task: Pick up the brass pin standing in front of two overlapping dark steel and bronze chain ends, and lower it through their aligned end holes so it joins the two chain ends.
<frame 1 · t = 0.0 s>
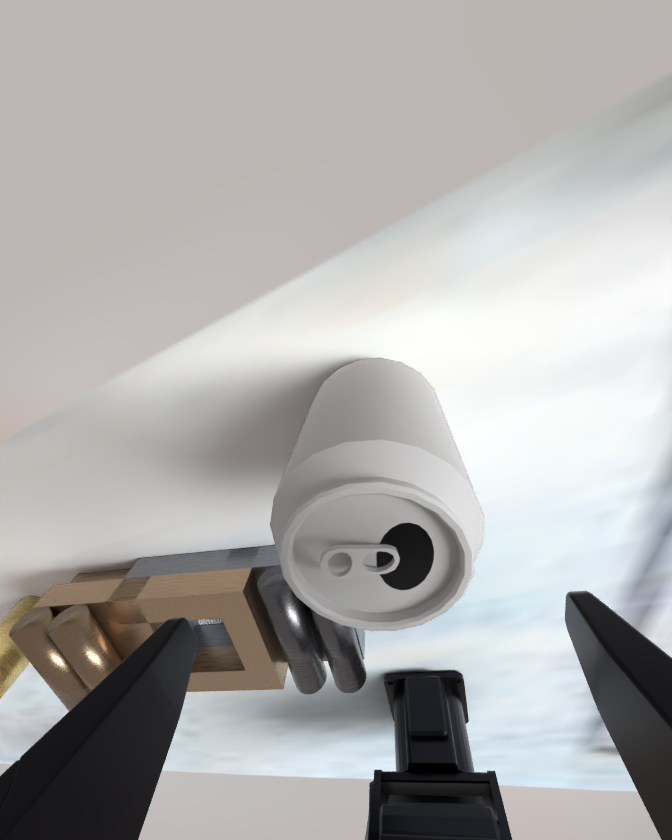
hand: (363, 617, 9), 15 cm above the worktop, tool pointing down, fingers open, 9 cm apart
chain end 1: (219, 599, 31), on the worktop
brass pin: (41, 612, 34), on the worktop
can: (375, 413, 23), on the worktop
chain end 2: (219, 599, 31), on the worktop
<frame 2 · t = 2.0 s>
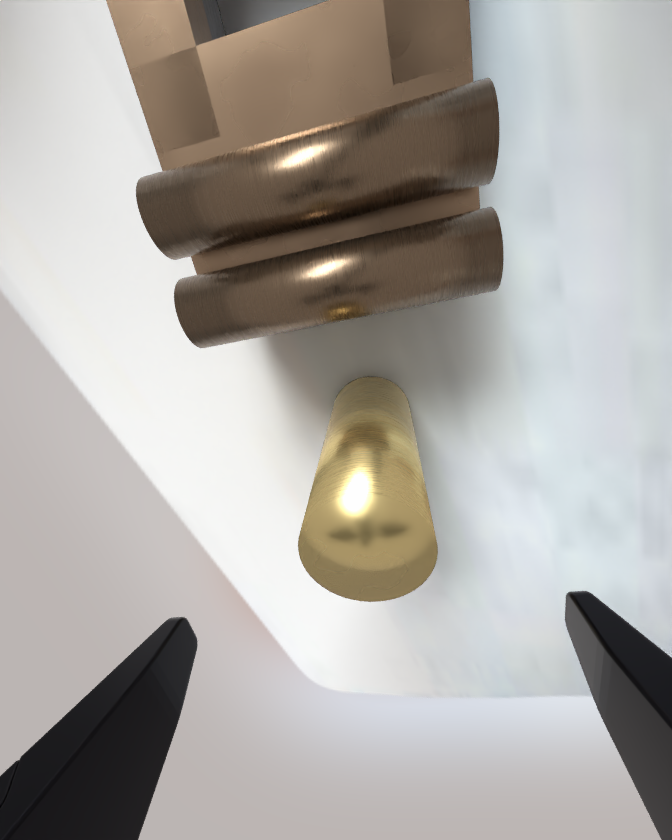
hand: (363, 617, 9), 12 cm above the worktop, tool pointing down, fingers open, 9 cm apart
brass pin: (371, 413, 20), on the worktop
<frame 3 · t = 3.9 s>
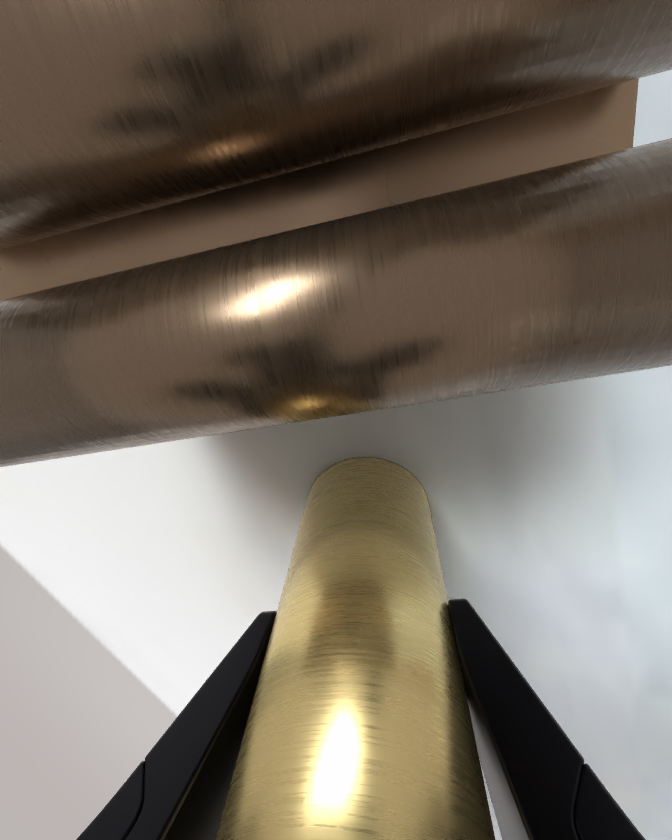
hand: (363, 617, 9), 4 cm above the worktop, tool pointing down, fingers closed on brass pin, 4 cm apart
brass pin: (367, 509, 13), on the worktop, touching gripper
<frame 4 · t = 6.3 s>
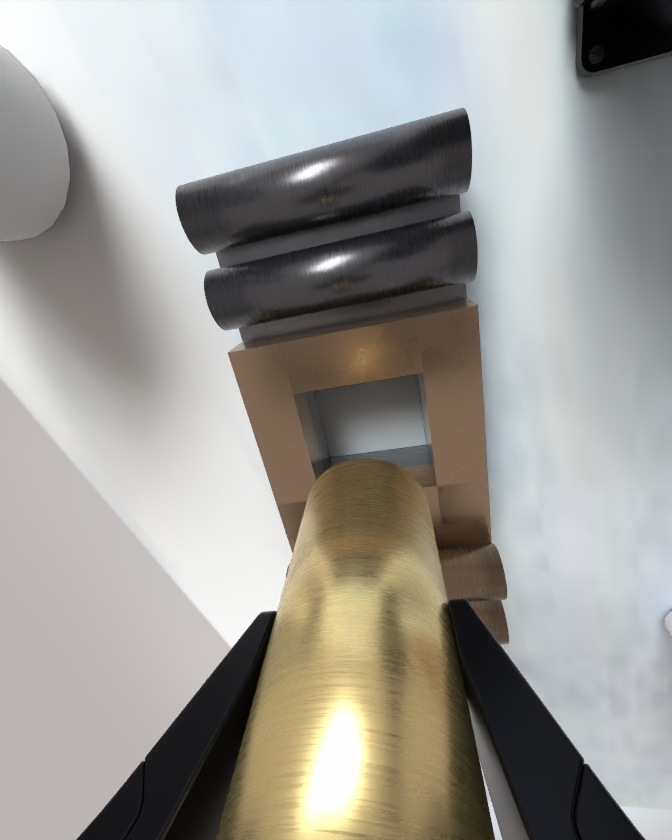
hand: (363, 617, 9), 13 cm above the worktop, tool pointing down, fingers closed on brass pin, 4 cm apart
chain end 1: (368, 407, 21), on the worktop
brass pin: (367, 510, 13), point 9 cm above the worktop, touching gripper
can: (6, 150, 17), on the worktop
chain end 2: (368, 407, 21), on the worktop
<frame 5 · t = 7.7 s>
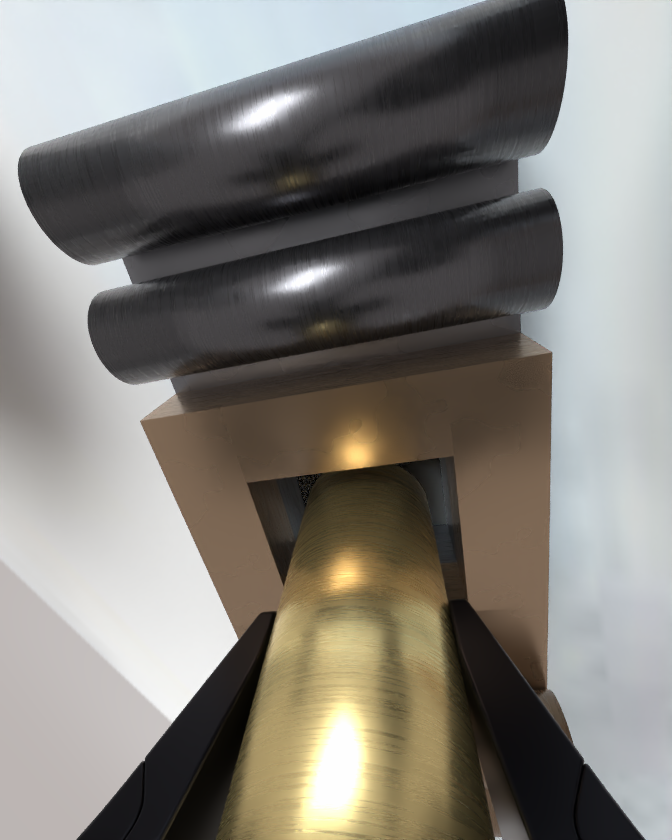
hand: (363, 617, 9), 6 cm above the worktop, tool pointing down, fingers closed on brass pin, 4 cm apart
chain end 1: (367, 474, 15), on the worktop
brass pin: (367, 511, 13), point 2 cm above the worktop, touching gripper
chain end 2: (367, 474, 15), on the worktop
when the fingers open (5 cm above the worktop, at t = 9.0 s): brass pin drops 2 cm, on the worktop.
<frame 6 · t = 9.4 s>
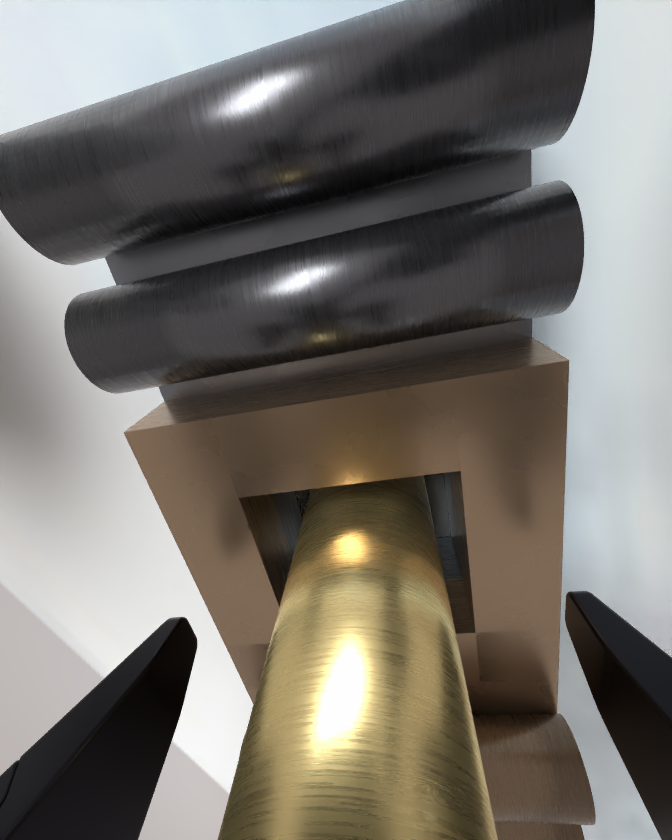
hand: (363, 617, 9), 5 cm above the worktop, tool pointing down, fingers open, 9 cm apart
chain end 1: (367, 485, 14), on the worktop
brass pin: (368, 484, 14), on the worktop
chain end 2: (367, 485, 14), on the worktop
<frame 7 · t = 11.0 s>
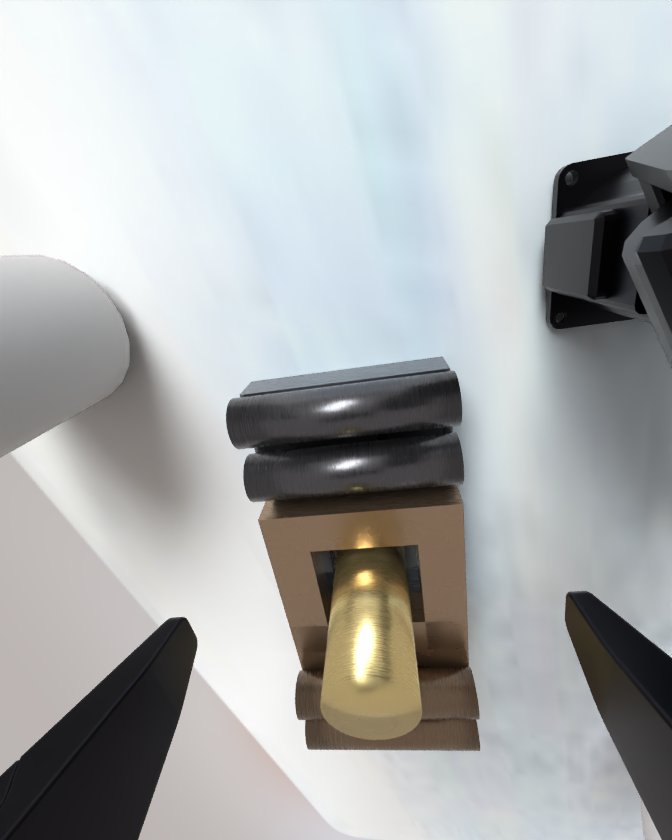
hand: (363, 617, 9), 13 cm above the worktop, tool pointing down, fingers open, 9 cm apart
lightbulb: (624, 697, 29), on the worktop
chain end 1: (369, 536, 24), on the worktop
brass pin: (370, 536, 24), on the worktop
can: (73, 330, 20), on the worktop
chain end 2: (369, 536, 24), on the worktop
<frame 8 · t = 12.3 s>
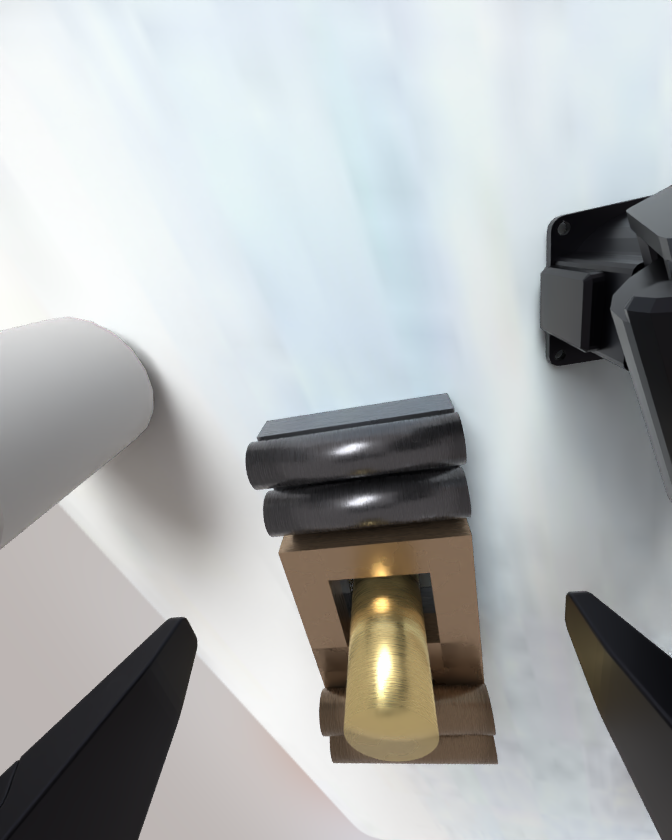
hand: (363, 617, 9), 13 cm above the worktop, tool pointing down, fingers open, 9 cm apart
chain end 1: (384, 559, 25), on the worktop
brass pin: (385, 559, 25), on the worktop
can: (100, 380, 22), on the worktop
chain end 2: (384, 559, 25), on the worktop
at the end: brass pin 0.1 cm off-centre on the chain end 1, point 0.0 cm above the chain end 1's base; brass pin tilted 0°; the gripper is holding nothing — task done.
